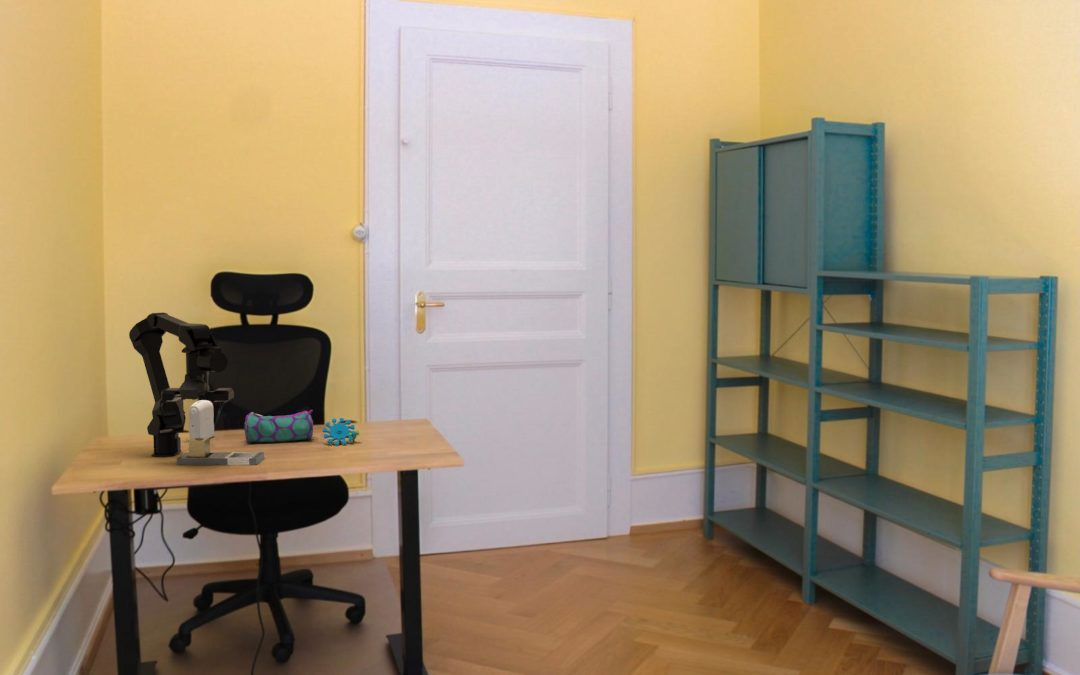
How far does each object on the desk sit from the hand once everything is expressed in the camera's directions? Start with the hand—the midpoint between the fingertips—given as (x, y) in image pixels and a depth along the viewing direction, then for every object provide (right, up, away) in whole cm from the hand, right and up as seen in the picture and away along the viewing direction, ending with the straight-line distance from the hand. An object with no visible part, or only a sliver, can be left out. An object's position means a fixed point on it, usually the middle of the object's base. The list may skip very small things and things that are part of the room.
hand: (198, 424), depth 269 cm
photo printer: (-10, -8, +33) cm, 35 cm away
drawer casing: (+6, -11, +1) cm, 12 cm away
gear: (+35, -9, +27) cm, 44 cm away
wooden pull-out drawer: (0, -11, +1) cm, 11 cm away
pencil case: (+15, -8, +30) cm, 34 cm away
